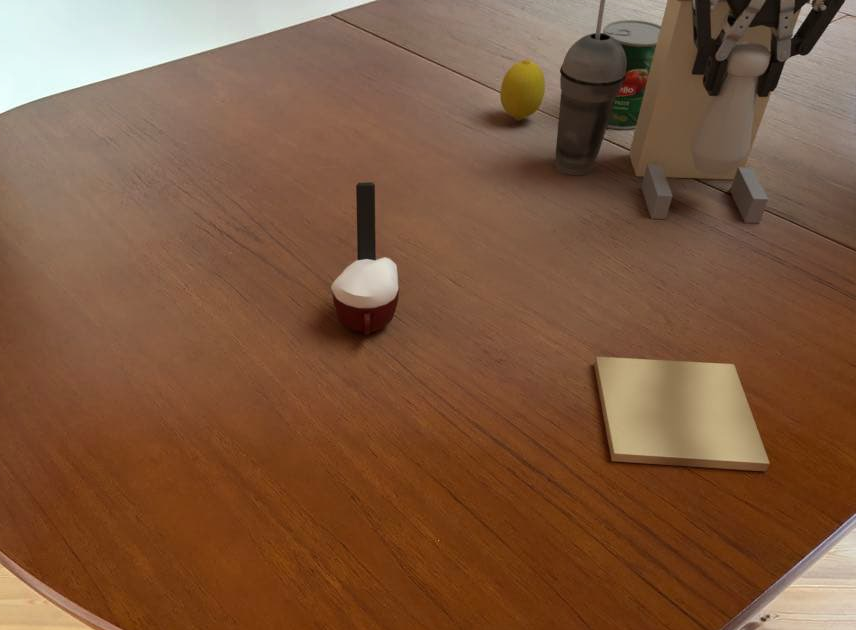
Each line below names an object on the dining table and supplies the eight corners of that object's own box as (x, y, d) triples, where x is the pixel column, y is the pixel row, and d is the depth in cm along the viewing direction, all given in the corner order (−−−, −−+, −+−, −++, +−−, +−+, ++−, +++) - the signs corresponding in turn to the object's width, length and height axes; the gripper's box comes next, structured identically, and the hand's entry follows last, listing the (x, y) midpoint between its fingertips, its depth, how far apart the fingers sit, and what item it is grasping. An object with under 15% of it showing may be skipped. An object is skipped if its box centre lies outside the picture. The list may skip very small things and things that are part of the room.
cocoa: (379, 355, 79) (384, 245, 71) (317, 339, 81) (315, 230, 73) (413, 298, 86) (420, 191, 77) (355, 284, 88) (356, 178, 79)
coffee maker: (733, 156, 105) (803, -48, 89) (766, 223, 94) (852, 4, 78) (624, 153, 106) (673, -49, 90) (644, 218, 95) (704, 2, 79)
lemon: (491, 125, 112) (499, 64, 107) (503, 107, 116) (512, 48, 111) (533, 132, 111) (543, 71, 105) (544, 115, 114) (554, 54, 109)
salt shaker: (750, 165, 94) (792, 45, 85) (727, 185, 91) (768, 63, 82) (699, 148, 97) (734, 31, 88) (675, 168, 94) (709, 48, 85)
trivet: (730, 372, 77) (734, 363, 76) (766, 471, 68) (770, 463, 68) (593, 364, 78) (595, 356, 77) (611, 461, 69) (614, 453, 69)
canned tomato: (645, 104, 116) (666, 20, 108) (651, 131, 110) (674, 45, 103) (584, 101, 117) (601, 18, 109) (587, 127, 111) (605, 42, 104)
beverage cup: (555, 183, 101) (589, 7, 87) (535, 154, 106) (563, -17, 93) (614, 177, 102) (657, 1, 88) (591, 149, 107) (627, -22, 93)
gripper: (720, -81, 75) (671, 108, 86) (895, -82, 73) (820, 111, 85) (702, -104, 80) (658, 77, 92) (864, -105, 78) (798, 79, 90)
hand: (736, 92), depth 88 cm, fingers closed on salt shaker, 4 cm apart
